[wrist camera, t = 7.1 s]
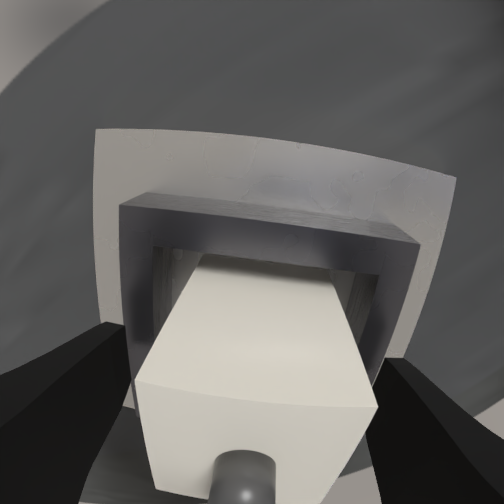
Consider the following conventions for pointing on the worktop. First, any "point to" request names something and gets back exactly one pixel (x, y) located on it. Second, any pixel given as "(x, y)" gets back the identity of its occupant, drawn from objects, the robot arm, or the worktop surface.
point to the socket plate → (262, 228)
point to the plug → (253, 386)
